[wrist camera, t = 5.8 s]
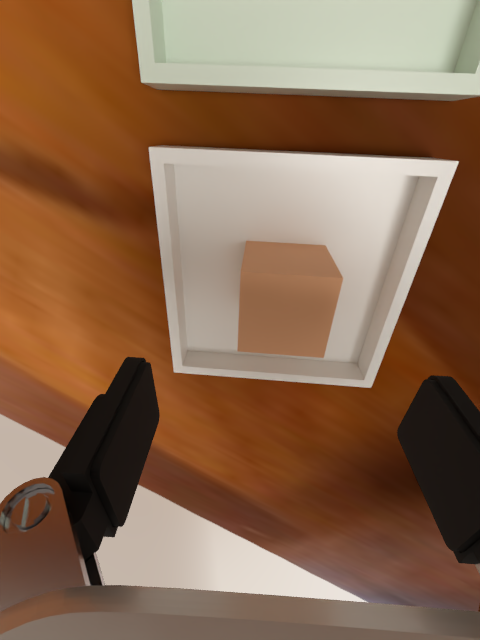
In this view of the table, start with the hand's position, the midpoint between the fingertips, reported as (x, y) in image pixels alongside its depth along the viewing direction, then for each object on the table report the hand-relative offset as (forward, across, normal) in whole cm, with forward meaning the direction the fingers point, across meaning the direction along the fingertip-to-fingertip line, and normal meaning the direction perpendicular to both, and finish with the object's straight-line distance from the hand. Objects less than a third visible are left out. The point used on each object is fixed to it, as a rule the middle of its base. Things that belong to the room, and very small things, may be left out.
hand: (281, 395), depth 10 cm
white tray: (+12, -1, +1) cm, 12 cm away
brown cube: (+11, -1, +1) cm, 11 cm away
